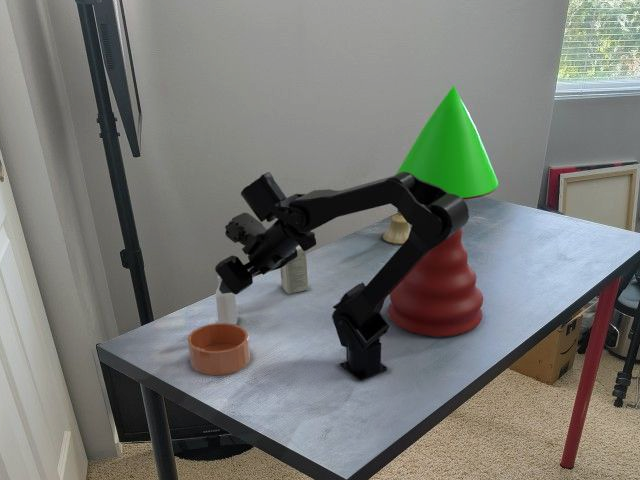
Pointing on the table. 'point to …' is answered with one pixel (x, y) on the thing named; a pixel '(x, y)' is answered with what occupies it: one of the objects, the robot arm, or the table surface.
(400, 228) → the hand bell
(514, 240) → the table surface
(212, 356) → the round bowl
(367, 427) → the table surface
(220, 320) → the eye dropper bottle
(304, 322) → the table surface
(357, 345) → the robot arm
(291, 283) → the beige carton box
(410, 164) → the table lamp
